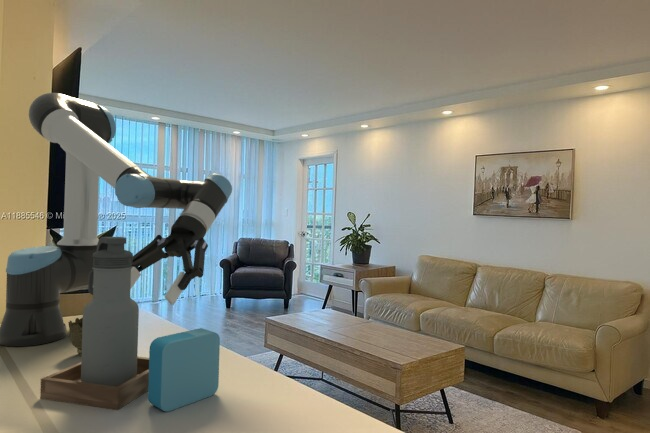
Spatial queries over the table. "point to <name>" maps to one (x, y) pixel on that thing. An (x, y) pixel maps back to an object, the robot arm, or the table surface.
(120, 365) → the water bottle
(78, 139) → the robot arm
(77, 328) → the cup
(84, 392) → the walnut tray
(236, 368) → the table surface
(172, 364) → the data package
